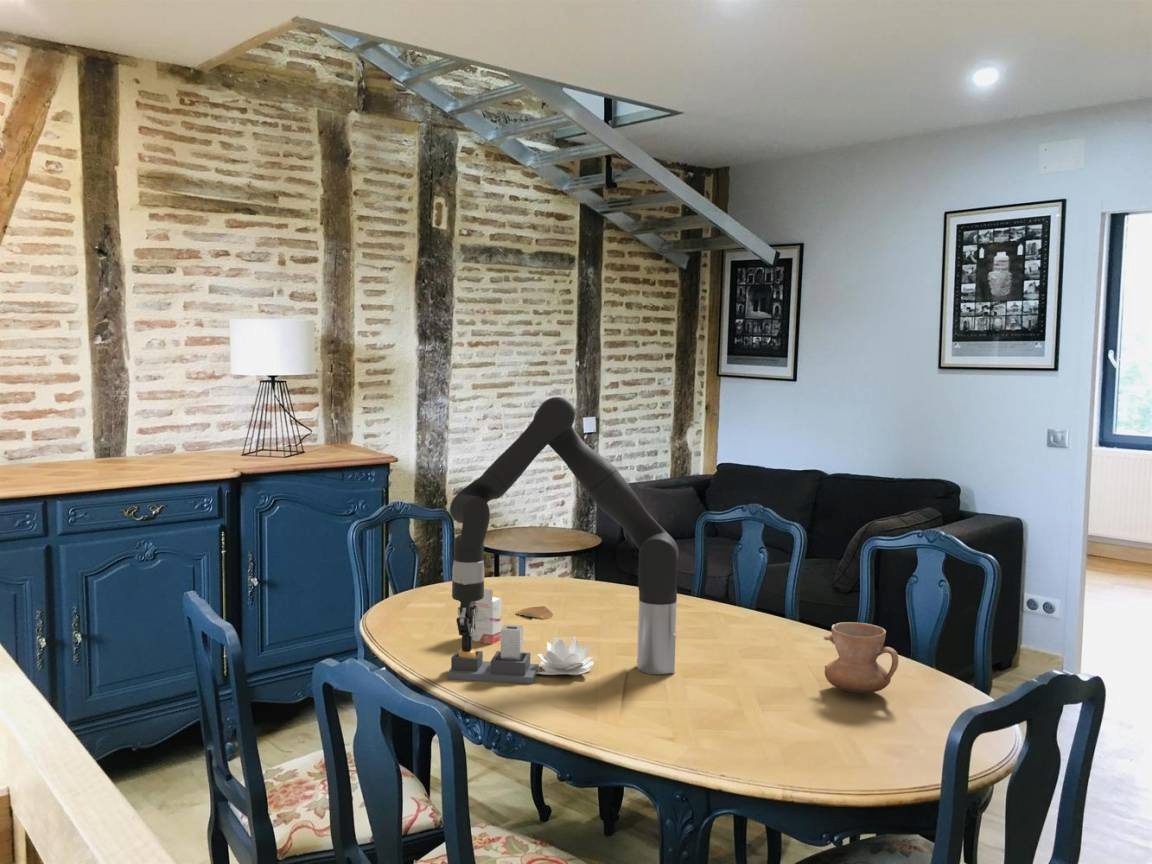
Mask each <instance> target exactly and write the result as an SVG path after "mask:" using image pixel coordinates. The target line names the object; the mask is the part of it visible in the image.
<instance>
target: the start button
mask: <svg viewBox="0 0 1152 864" xmlns="http://www.w3.org/2000/svg"><path fill="white" fill-rule="evenodd" d="M458 650H459V657H468V658H475V657H476V651H477V650H476V649H474V648H472V650H471V651H470V652H467V651H462V648H460V649H458Z"/></svg>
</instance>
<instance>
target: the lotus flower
mask: <svg viewBox="0 0 1152 864" xmlns="http://www.w3.org/2000/svg"><path fill="white" fill-rule="evenodd" d="M545 647H546V653H545V655H544V654H542V653H537V654H536V655H537V656H538V658H539V659H540V660H541V661H540V666H541V668H542V669H543V670H542V671H538V672H537V673H536V674H537V675H546V676H547V675H548V676H549V675H550V676H553V675H554V676H555V675H570V676H577V675H582V674H586V673H589V672H591V668H592V667H593V666H594V663H595V661H592V660H593V659H594V658H595V656H588V655H589V651H590V647H591V646H589V645H588V646H585V647H582V645H581V643H580V642H579V641H578V640H576V636H573V638H572V639H571V640H570V643H569V644H566V643H565V641H564V640H563V639H562V638H559V637H558V636H556V637H555V638H553V641H552V643H550V642H549V641H546V645H545ZM587 656H588V657H587Z"/></svg>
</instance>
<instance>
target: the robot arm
mask: <svg viewBox="0 0 1152 864" xmlns="http://www.w3.org/2000/svg"><path fill="white" fill-rule="evenodd" d="M575 419H576V411H575V408H574V406H573V404H572V403H571V402H570V401H569V400H568V399H566V398H564V397H561V396H555V397H550V398H548V399H546V400H545V401H543V402H542V403H541V404H540V406H539V407H538V408H537V410H536V411H535V413H534V416H533V420H532V421H531V422H530V424H528V426H527V428H526V429H525V430H524V431H523V432H522V433H521V434H520V435H519V437H518V438H517V439H516V440H514V441H513V443H512V444H511V445H510V446H508V448H506V449H505V451H504V452H502V453H501V454H500V456H498V457H496V458H497V459H495V461H493V462H492V464H490V466H488V468H487V469H486V470H484V472H483V473H482V474H481V475H480V477H478V478H477V479H475V480H474V481H472V482H471V483H469V484H468V485H467V486H466V487H464V488H463V489H462V490H460V491H459V492H458V493H457V494H456V495H455V496H454V497H453V499H452V501H451V503H450V507H449V513H450V515H451V518H452V519H454V521H456V522H458V523H460V524H462V525H461V526H462V527H461V533H460V534H459V535H457V536H456V537H455V538H454V544H453V564H452V570H451V571H452V572H451V573H452V574H451V575H452V577H451V579H452V581H451V586H452V587H451V598H452V599H453V600H455V601H458V602H459V603H460V604H459V607H457V615H458V617H457V618H456V625H457V630H458V634H459V636H461V649H462V651H467V652H470V651H471V650H472V649H473V640H472V634H473V633H474V630H475V625H476V619H477V612H478V606H477V605H475V604H476V601H479V600H481V599H483V597H484V589H485V563H484V557H485V556H484V555H485V554H484V553H485V551H484V550H485V548H484V547H485V546H484V542H485V539H486V537H487V532H488V528H489V523H490V518H491V513H490V511H491V510H490V507H489V504H488V503H490V501H493V500H496V499H497V500H498V499H500V498H501V497H503V496H504V495H505V494H506V493H507V491H509V489H510V488H512V486H513V485H514V484H515V483H516V482H517V481H518V479H520V477H521V476H522V475H523V473H524V472H525V471H526V470H527V469H528V467H529V466H530V465H531V464H532V462H533V461H534V459H535V458H536V457H538V455H539V454H540V453H541V452H542V451H543V450H544V448H546V446H549V447H550V448H551V449H552V450H553V451H554V452H555V453H556V454H557V455H558V456H559V458H561V459H562V461H563V462H564V463H565V465H566V466H567V467H568V469H569V470H570V472H571V473H572V474H573V475H574V477H575V478H576V479H577V481H578V482H579V483H580V485H581V486H582V487H583V488H584V489H585V491H586V493H587V495H589V496H590V498H591V499H592V500H593V501H594V503H595V504H596V505H597V506H598V508H599V509H600V510H601V511H603V512H604V513H605V514H606V515H607V516H608V517H609V518H610V519H612V520H613V521H614V522H615V523H617V524H618V526H620V527H621V528H622V529H624V531H625V532H626V533H627V535H628V536H629V537H630V539H632V541H633V543H634V544H635V546H636V547H637V549H638V551H639V553H638V621H637V622H638V624H637V653H636V654H637V658H636V663H637V664H636V667H637V670H638V671H640V672H642V673H645V674H649V675H668V674H675V671H676V670H675V669H676V668H675V665H676V639H677V638H676V635H677V632H676V631H677V599H678V591H677V590H678V589H677V587H678V586H677V577H678V575H677V574H678V573H677V571H678V559H679V555H680V553H679V552H680V551H679V550H680V549H679V546H678V544H677V542H676V541H675V539H674V538H673V537H672V536H671V535H670V534H669V533H668V532H667V531H666V530H665V529H664V528H663V527H662V526H661V525H660V524H659V523H658V522H657V521H656V520H655V519H654V517H653V516H651V514H650V513H649V512H648V511H647V509H646V507H645V506H644V505H643V503H642V501H641V500H640V499H639V497H638V496H637V494H636V493H635V492H634V490H633V489H632V488H631V486H630V485H629V483H628V481H626V480H625V478H624V477H623V476H622V474H621V473H620V472H619V470H618V469H617V467H615V465H613V463H611V462H610V461H609V460H607V458H605V457H604V456H603V455H601V454H600V453H598V452H597V451H595V450H594V449H593V448H592V447H590V446H589V445H587V444H586V442H585V441H584V440H583V439H582V438H581V436H580V435H579V433H577V431H576V429H575V428H574V427H573V425H574V423H575Z"/></svg>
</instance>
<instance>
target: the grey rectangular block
mask: <svg viewBox="0 0 1152 864" xmlns="http://www.w3.org/2000/svg"><path fill="white" fill-rule="evenodd" d="M523 639H524V625H517V624H516V625H515V624H504V625H502V627H501V640H500V651H501V660H500V661H517V662H522V655H523V652H524V651H523V649H524V648H523V644H524V640H523Z"/></svg>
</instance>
